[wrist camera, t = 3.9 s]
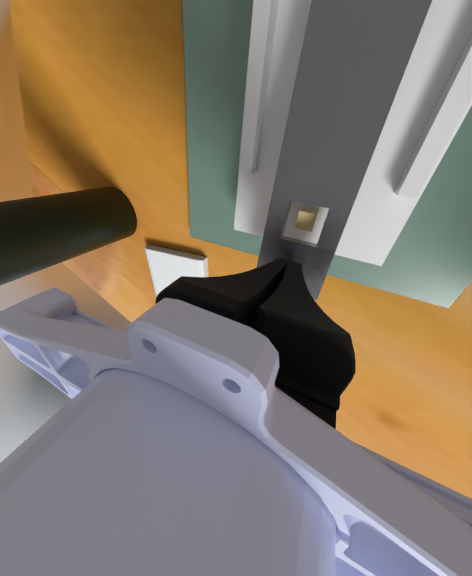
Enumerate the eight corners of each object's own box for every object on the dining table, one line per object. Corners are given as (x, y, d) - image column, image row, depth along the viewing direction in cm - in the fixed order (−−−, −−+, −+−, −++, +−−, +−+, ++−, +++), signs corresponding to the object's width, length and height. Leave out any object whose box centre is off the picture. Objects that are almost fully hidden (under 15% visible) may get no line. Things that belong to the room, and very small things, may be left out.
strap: (359, -199, 7) (362, -250, 6) (527, -256, 5) (559, -329, 5) (258, 275, 14) (253, 280, 14) (317, 293, 13) (316, 300, 12)
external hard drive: (209, 255, 24) (213, 334, 30) (152, 243, 26) (168, 318, 33) (201, 261, 22) (208, 342, 29) (142, 247, 25) (161, 325, 32)
